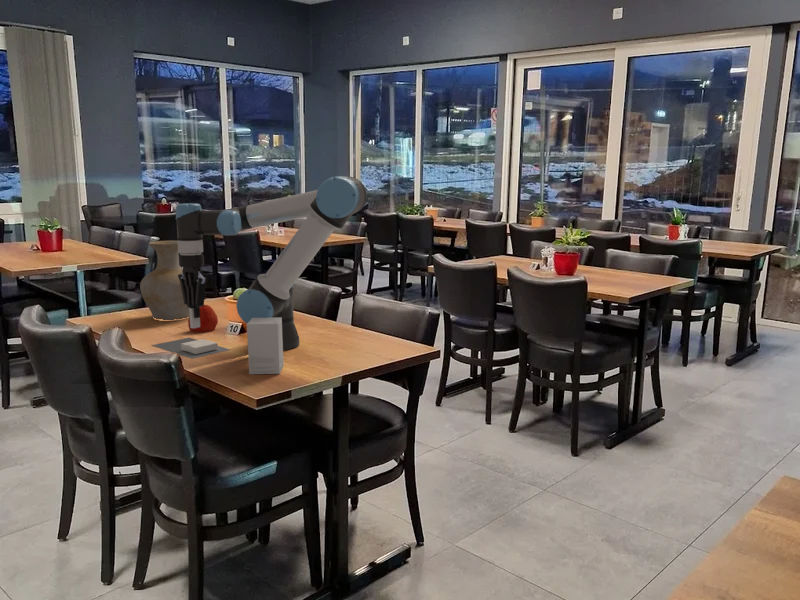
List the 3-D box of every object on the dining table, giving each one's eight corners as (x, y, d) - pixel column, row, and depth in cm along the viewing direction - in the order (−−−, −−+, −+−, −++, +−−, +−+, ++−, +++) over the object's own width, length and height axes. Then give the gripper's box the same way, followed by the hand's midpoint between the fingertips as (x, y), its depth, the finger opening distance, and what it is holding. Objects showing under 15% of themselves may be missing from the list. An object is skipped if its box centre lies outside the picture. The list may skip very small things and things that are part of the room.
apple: (223, 331, 242) (222, 302, 240) (204, 337, 233) (203, 308, 231) (201, 328, 246) (200, 300, 244) (182, 334, 237) (180, 305, 235)
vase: (187, 309, 279) (183, 238, 273) (209, 318, 262) (205, 242, 257) (134, 316, 265) (129, 241, 260) (154, 326, 249) (148, 246, 243)
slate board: (231, 353, 212) (231, 349, 212) (192, 362, 202) (192, 358, 202) (189, 340, 228) (189, 337, 228) (151, 348, 217) (151, 345, 217)
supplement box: (284, 365, 199) (282, 316, 196) (280, 374, 191) (278, 323, 188) (253, 365, 199) (252, 316, 196) (248, 374, 190) (246, 323, 187)
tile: (203, 345, 217) (217, 349, 212) (181, 350, 211) (195, 354, 206) (203, 338, 216) (217, 343, 211) (181, 343, 211) (195, 347, 205)
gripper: (213, 254, 205) (217, 328, 210) (190, 251, 214) (194, 322, 218) (191, 256, 200) (196, 332, 204) (168, 253, 208) (173, 326, 213)
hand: (195, 327), depth 211 cm, fingers closed
